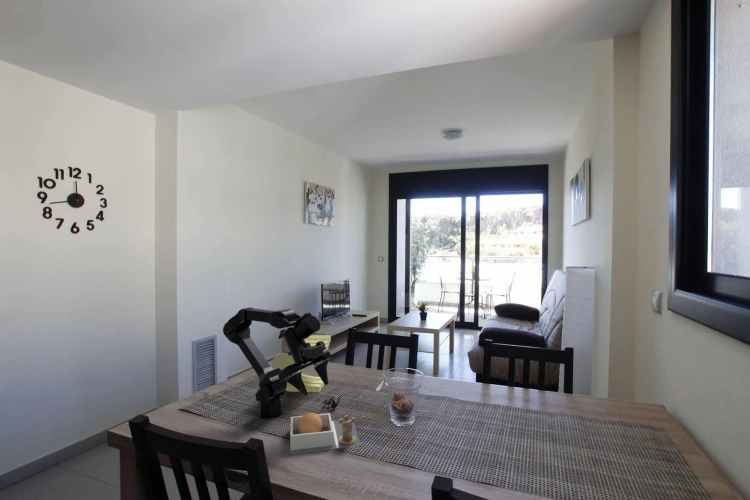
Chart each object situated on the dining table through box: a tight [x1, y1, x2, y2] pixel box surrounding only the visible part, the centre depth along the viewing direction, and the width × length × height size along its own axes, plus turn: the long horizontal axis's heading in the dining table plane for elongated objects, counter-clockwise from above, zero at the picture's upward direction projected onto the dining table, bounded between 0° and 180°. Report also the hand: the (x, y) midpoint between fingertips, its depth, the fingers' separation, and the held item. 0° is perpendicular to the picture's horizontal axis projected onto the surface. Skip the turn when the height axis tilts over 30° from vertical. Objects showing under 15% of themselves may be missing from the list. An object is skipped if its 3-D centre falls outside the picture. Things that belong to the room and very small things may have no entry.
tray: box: [289, 412, 334, 451], centre depth 111 cm, size 12×12×4 cm
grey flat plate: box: [289, 418, 362, 455], centre depth 113 cm, size 20×17×1 cm
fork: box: [375, 380, 385, 392], centre depth 158 cm, size 3×24×2 cm, turn 162°
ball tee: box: [338, 414, 356, 445], centre depth 109 cm, size 5×5×7 cm
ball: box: [299, 412, 322, 434], centre depth 112 cm, size 7×7×7 cm
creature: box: [319, 395, 343, 411], centre depth 133 cm, size 8×5×8 cm
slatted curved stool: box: [272, 334, 332, 393], centre depth 155 cm, size 30×16×18 cm, turn 174°
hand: (317, 389), depth 117 cm, fingers open, 9 cm apart
